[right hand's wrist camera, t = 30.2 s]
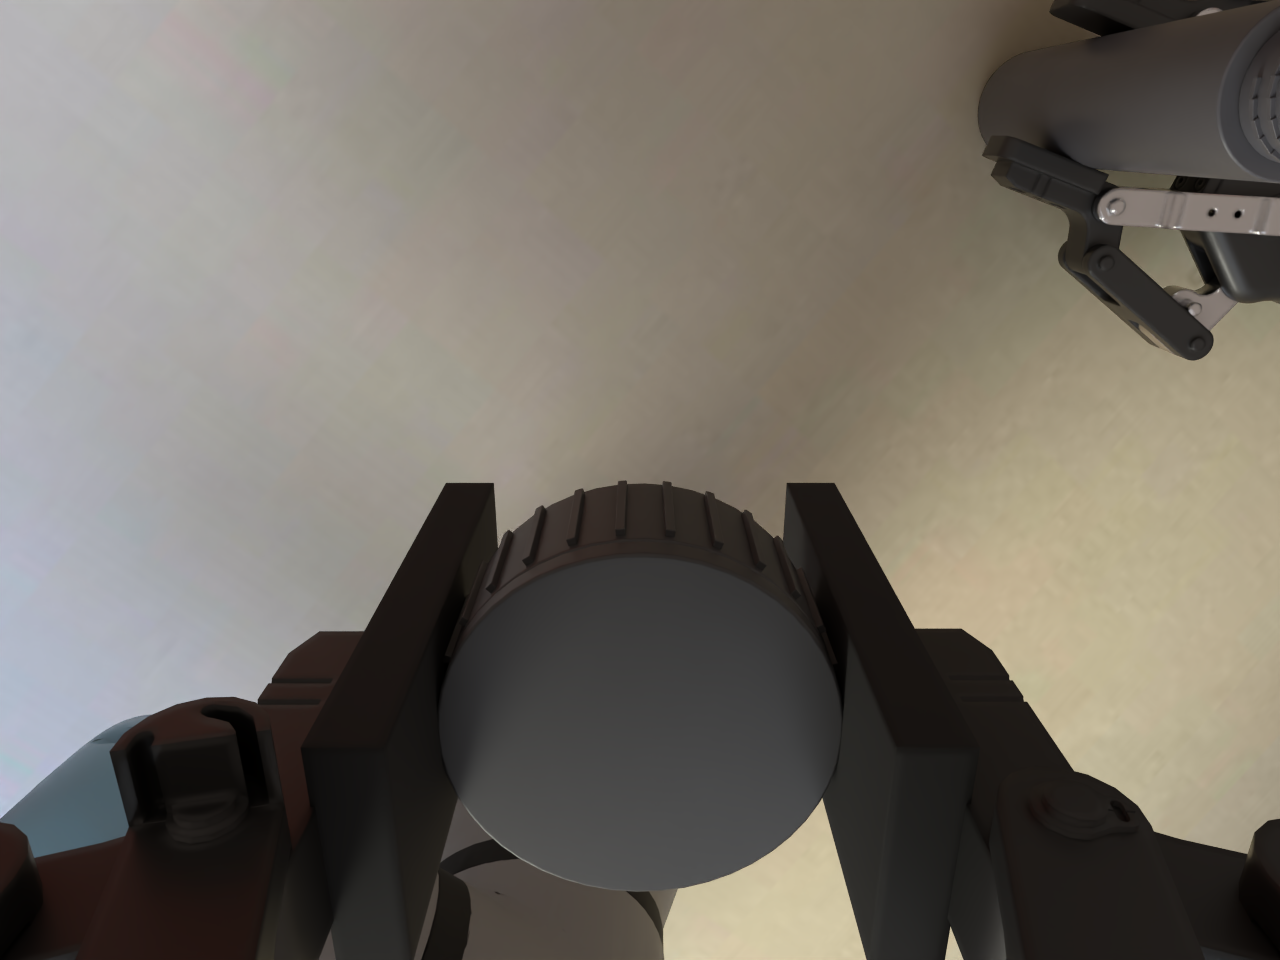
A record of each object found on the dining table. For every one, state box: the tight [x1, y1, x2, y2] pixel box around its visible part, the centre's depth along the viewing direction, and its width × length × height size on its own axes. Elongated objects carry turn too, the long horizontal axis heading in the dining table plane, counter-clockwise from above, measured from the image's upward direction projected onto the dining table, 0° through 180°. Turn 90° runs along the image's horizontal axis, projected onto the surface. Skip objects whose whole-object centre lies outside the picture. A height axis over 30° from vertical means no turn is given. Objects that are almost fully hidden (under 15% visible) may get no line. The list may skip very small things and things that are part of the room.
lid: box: [437, 481, 843, 892], centre depth 11 cm, size 5×5×2 cm
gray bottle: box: [978, 0, 1280, 183], centre depth 28 cm, size 4×4×18 cm
